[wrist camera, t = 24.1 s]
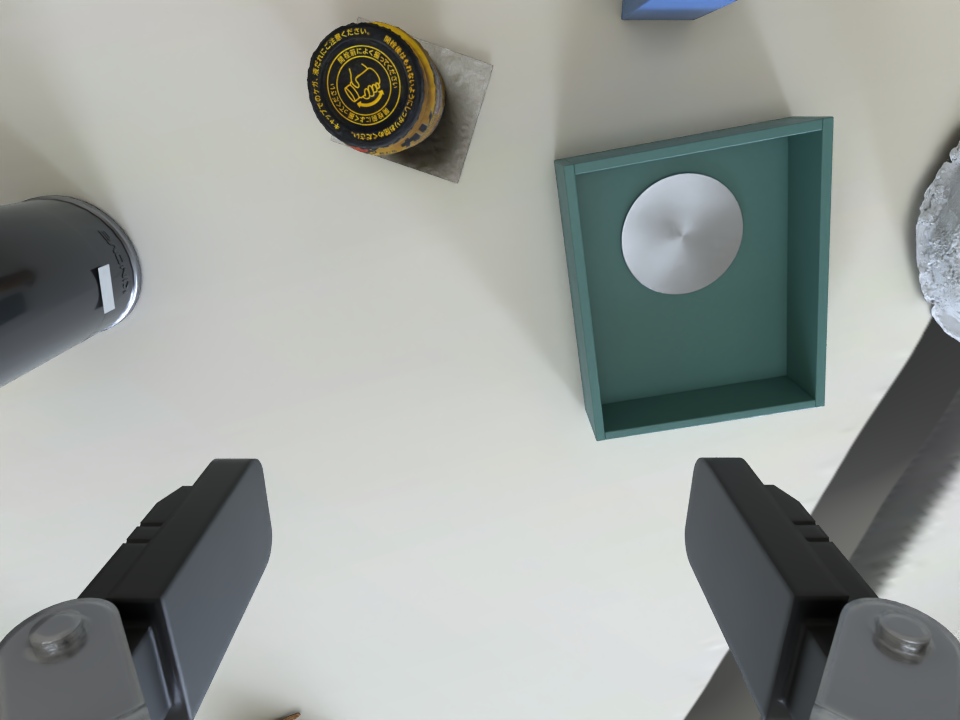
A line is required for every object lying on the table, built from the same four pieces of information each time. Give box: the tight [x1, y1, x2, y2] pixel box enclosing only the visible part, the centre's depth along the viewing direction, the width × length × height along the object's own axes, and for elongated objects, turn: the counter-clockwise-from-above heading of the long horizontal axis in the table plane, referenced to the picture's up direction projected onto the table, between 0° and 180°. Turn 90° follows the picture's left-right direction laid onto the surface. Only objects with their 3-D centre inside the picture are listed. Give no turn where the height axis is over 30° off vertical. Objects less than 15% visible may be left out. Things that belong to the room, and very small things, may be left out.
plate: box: [620, 172, 743, 295], centre depth 41 cm, size 8×8×1 cm
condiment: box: [307, 17, 493, 183], centre depth 33 cm, size 7×8×12 cm
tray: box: [554, 117, 833, 441], centre depth 40 cm, size 15×18×5 cm
